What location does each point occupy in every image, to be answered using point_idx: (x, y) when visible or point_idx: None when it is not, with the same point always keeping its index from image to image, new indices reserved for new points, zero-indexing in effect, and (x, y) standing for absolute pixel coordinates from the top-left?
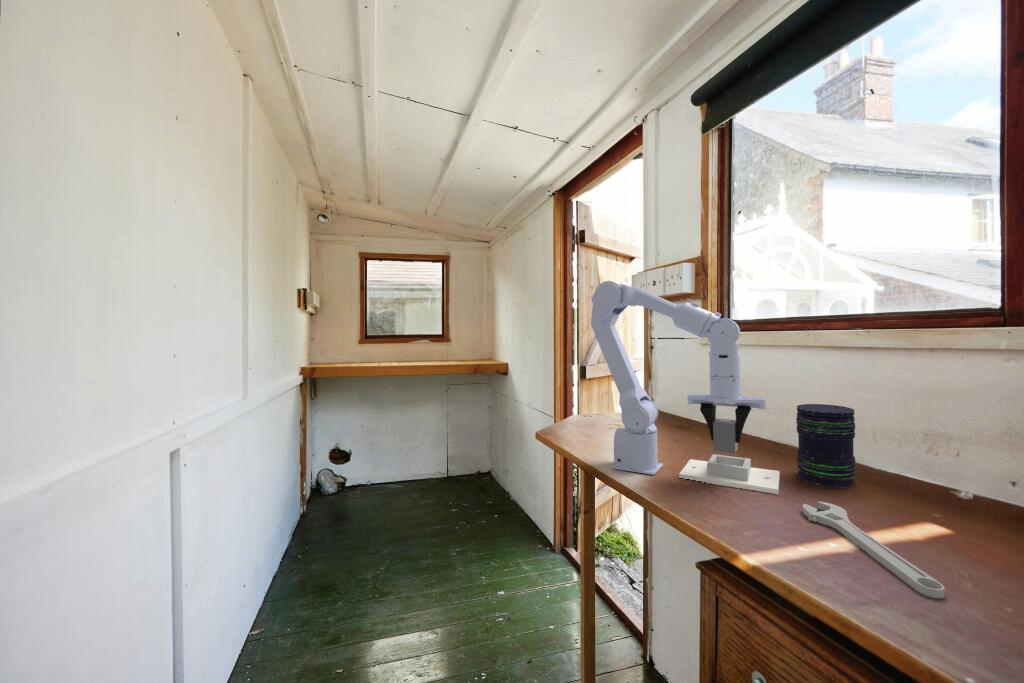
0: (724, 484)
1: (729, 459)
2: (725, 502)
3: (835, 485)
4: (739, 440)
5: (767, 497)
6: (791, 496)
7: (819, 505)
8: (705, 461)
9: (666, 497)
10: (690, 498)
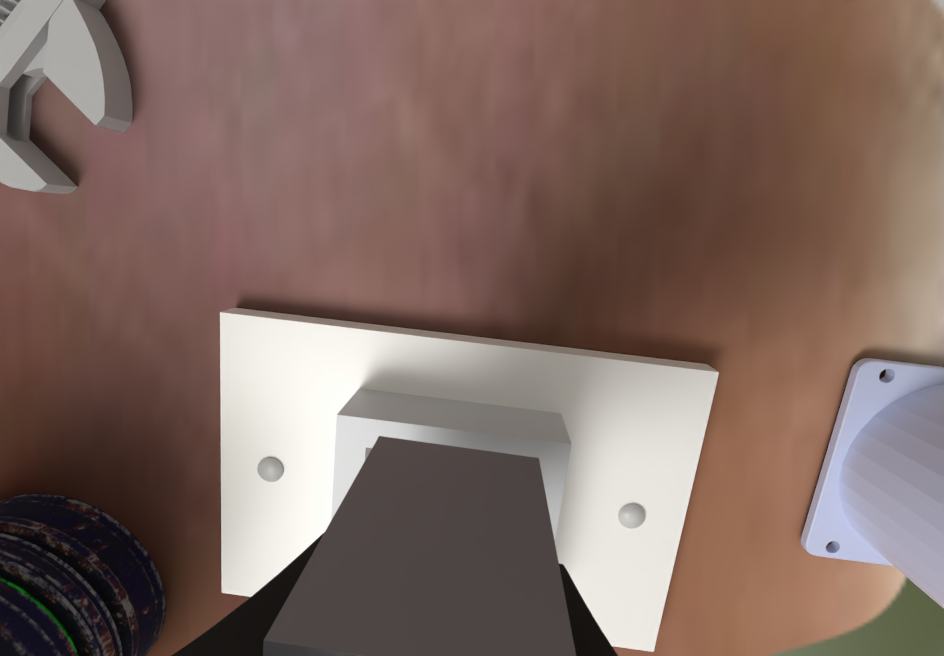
0: (473, 339)
1: None
2: (466, 81)
3: (13, 501)
4: (314, 543)
5: (279, 247)
6: (182, 306)
7: (54, 178)
8: None
9: (779, 15)
10: (645, 61)
